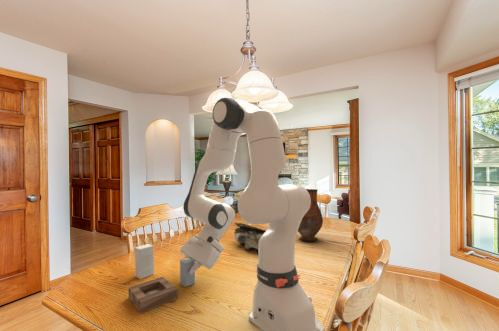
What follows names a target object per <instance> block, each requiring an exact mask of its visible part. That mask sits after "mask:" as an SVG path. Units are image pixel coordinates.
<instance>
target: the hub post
mask: <svg viewBox="0 0 499 331" xmlns="http://www.w3.org/2000/svg"><path fill="white" fill-rule="evenodd" d="M194 263H195V260H193V259H192V258H190V257H188V258H185V257H184V258H182V259H179V280H180V281H179V283H180V284H181V285H182V286H183V287H184V288H186V287H189V286H192V285H194V284H196V273H195V272H196V271H194V273H193V274H192V275H191V274H190V273H188V270H189V268H191V267H193V266H194V265H195V264H194Z"/></svg>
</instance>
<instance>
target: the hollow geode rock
mask: <svg viewBox="0 0 499 331" xmlns="http://www.w3.org/2000/svg"><path fill="white" fill-rule="evenodd" d="M234 224H235V225H236V226H237V227H236V228H235V229H234V232H233V233H234V240H235V242H237V243H239V244H240V245H242V244H243V245H244V248H245V249H247V250H249V249H252V248H254V249H256V250H258V243H259V239H260V237H261V236H262V235H263V234H264V233H265V231H266V230H267V229H266V230H265V229H263V228H258V227H256V226H252V225H248V224H244V223H241V222H239V223H237V222H234Z"/></svg>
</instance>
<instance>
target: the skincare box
mask: <svg viewBox="0 0 499 331" xmlns="http://www.w3.org/2000/svg"><path fill="white" fill-rule="evenodd" d="M154 258H155V257H154V245H153V244H150V243H146V244H142V245H139V246H136V247H134V267H135V268H134V269H135V272H134V273H135V277H136V278H137V279H139V280H142V279H144V278H147V277H149V276H150V277H151V276H152V275H155V266H154V265H155V264H154V263H155V259H154Z"/></svg>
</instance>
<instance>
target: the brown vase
mask: <svg viewBox="0 0 499 331" xmlns="http://www.w3.org/2000/svg"><path fill="white" fill-rule="evenodd" d="M305 189H306V190H307V191H308V193H309V195H310V198H311V205H310V208H309V210H308V211H307V213H306V214H305V215H304V217H303V218H302V220H301V223H300V225H299V228H298V231H297V233H298V234H300V237H299V238H298V239H299V241H301V242H303V243H314V242H317V241H318V237H317V236H316V235H317V234H318V233H319V232H320V230H321V228H322V227H323V223H324V220H323V215H322V212H321V209H320V207H319V203H318V191H319V189H314V188H313V189H312V188H309V189H308V188H305Z"/></svg>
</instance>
